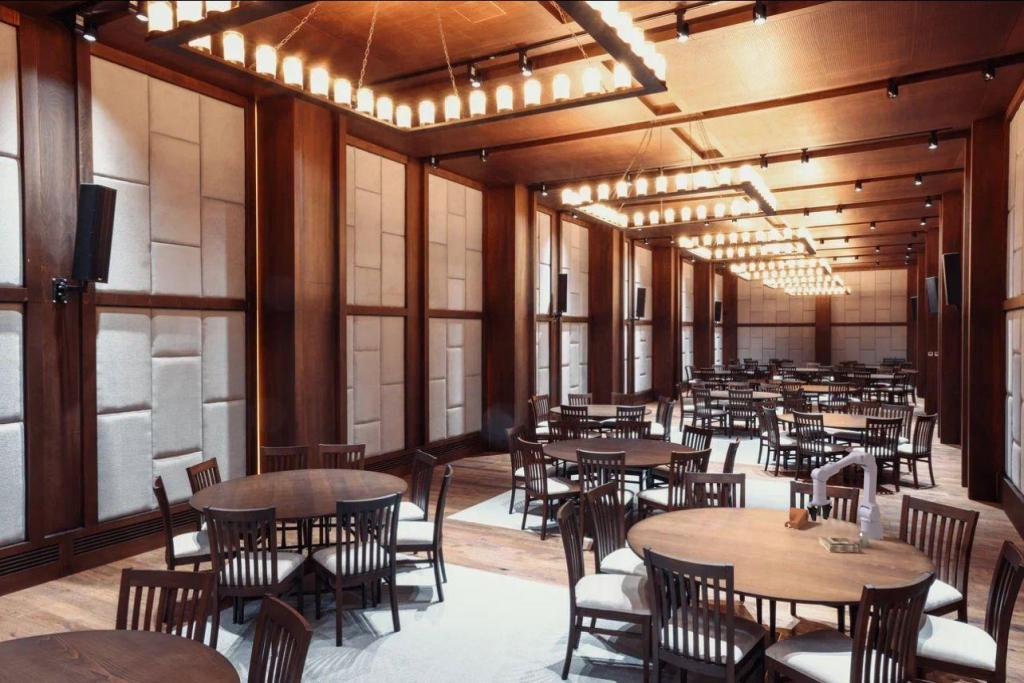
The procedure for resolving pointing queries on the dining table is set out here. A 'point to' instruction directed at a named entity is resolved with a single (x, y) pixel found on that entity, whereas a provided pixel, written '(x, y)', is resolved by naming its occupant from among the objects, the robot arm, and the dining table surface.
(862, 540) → the bushing
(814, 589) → the dining table surface
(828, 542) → the jig
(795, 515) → the brown blocky piece
